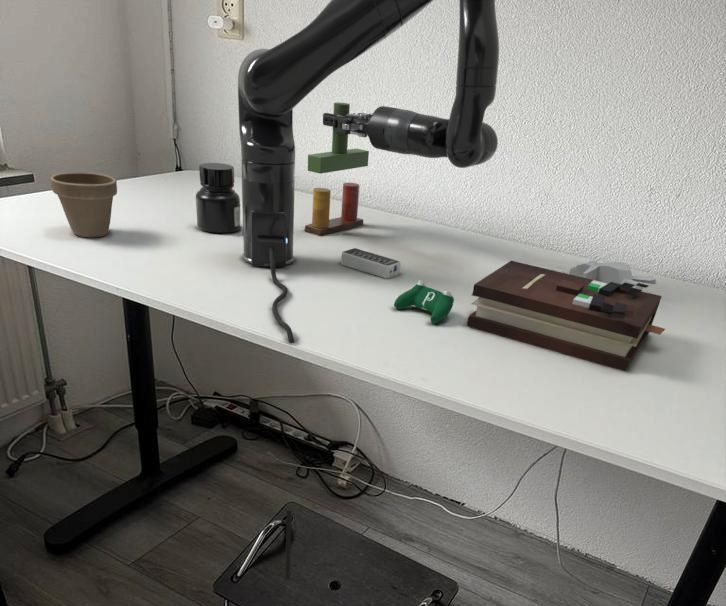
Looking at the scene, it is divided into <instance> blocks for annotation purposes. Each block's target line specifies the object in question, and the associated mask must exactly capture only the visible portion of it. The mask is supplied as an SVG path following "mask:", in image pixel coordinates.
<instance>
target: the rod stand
mask: <svg viewBox="0 0 726 606" xmlns="http://www.w3.org/2000/svg"><path fill="white" fill-rule="evenodd" d="M359 197H360V184H359V183H356V182H343V183H342V199H341V213H340V214H341V215H340V216H339V217H335V218H331V219H330V209H331V208H330V207H331V189H329V188H325V187H315V188H313V192H312V213H311V214H312V217H311V219H312V221H311V223H309V224H305V225H304V232H307V233H310V234H313V235H317V236H320V237H321V236H325V235H330V234H333V233H337V232H341V231H345V230H348V229H349V230H350V229H353V228H356V227H357V228H358V227H360V226H361V227H362V226H363V225H364V219H363V218H359V217H358V212H359V211H358V210H359Z"/></svg>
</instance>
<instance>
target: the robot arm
mask: <svg viewBox="0 0 726 606" xmlns="http://www.w3.org/2000/svg"><path fill="white" fill-rule="evenodd" d="M434 1H435V0H330V1H329V2H328V3H327V4H326V5H325V7H323V9H322V10H321V11H320V12H319V14H318V15H316V17H315V18H314V19H313V20H312V21H311V22H310V23H309V24H307V25H306V26H305V27H304V28H303V29H301V30H300V31H298V32H296V33H295V34H294V35H292V36H290V37H289V38H287V39H286V40H284V41H282V42H281V43H278V44H277V45H275V46H274V47H272V48H258V49H254V50H253V51H251V52H249V53H248V54H247V55H246V56H245V57H244V58H243V60H242V61H241V64H240V65H239V69H238V74H237V75H238V76H237V101H238V103H237V104H238V131H239V141H240V152H241V197H242V198H241V201H242V238H243V239H242V242H243V244H242V245H243V253H242V257H243V261H245V262H246V263H249V264H251V266H252V267H269V268H270V272H271V273H270V275H271V279H272V281H273V284H274V285H275V286H276V287H278V288H279V289H281V290H282V293H280V294H279V295H278V296H277V297H276V298H275V300H274V301H273V302H272V307H271V308H272V314H273V317H274V319H275V322H276V323H277V324H278V325H279V326H280V327H281V328H283V329H284V330H285V332H286V335H287V340H288V343H289V344H295V338H294V334H293V330H292V328H291V326H289V324H288V323H286V322H285V321H284V320H282V317H281V316H280V313H279V311H278V306H279V304H280V303H281V302H282V301H283V300H284V299H285V298H286V297H287V295H288V293H289V292H288V291H289V290H288V287H287V286H286V285H285V284H283V283H281V282H280V281H279V279H278V277H277V274H276V268H287V265H290V264H292V263H293V262H294V259H295V258H294V257H295V256H294V231H295V230H294V229H295V225H294V223H295V222H294V221H295V179H296V144H295V138H294V128H293V127H294V125H293V121H294V120H293V119H294V117H293V116H294V115H293V112H294V111H293V109H294V108H295V107H296V106H297V105H298V104H299V103H300V102H301V101H302V100H304V99H305V98H306V97H307V96H308V95H309V94H310V93H311V92H312V91H313V90H314V89H316V88H317V87H318V86H319V85H320V84H321V83H322V82H323V81H325V79H327V78H328V77H329V76H330V75H332V74H333V73H334V72H336V71H337V70H339V69H340V68H342V67H344V66H345V65H347V64H349V63H351V62H352V61H354V60H355V59H357V58H358V57H360V56H361V55H363V54H365V53H366V52H368V51H369V50H371V49H372V48H374V47H375V46H377V45H379V44H380V43H381V42H383V41H384V40H386V39H387V38H388V37H390V36H391V35H393V34H395V32H397V31H398V30H400V29H401V28H402V27H404V26H405V25H406V24H407V23H409V21H411V20H412V19H413V18H414V17H416V16H417V15H418V14H419V13H421V12H422V11H423V10H424V9H426V8H427V7H428V6H429V5H430V4H431V3H433V2H434ZM496 11H497V10H496V0H459V25H458V26H459V27H458V49H457V50H458V51H457V62H456V63H457V64H456V66H457V67H456V79H455V80H456V81H455V95H454V100H453V103H452V106H451V110H450V113H449V117H448V118H443V117H438V116H434V115H430V114H424V113H418V112H416V111H413V110H409V109H403V108H398V107H392V106H385V105H380V106H379V107H377V108H376V109H375V110H374V111H373V113H366V112H358V113H355V112H354V113H353V112H352V113H349V114H347V115H346V116H344V115H341V114H338V115H336V114H333V113H329V112H324V113H322V125H323V126H326V127H332V131H333V130H334V131H338V132H341V133H344V134H346V135H348V136H349V135H356V136H358V138H367V137H368V139H369V142H370V144H371V145H372V147H373V148H374V149H376V150H381V151H386V152H392V153H395V154H400V155H410V156H411V155H412V156H417V157H423V158H428V159H440V158H447V159H448V161H449V162H450V164H451V165H452V166H454V167H456V168H459V169H466V168H470V167H473V166H474V167H475V166H478V165H482V164H485V163H486V162H488V161H490V160H491V159H492V158H493V157H494V156H495V153H496V152H497V150H498V145H499V144H498V143H499V141H498V140H499V138H498V135H497V132H496V130H495V129H494V128H493V127H492V126H491V125H490V124H489V123H487V122H484V117H485V113H486V110H487V109H488V108H489V107H490V106H491V105H492V104H493V103H494V102H495V98H496V92H497V83H498V73H499V61H500V39H499V38H500V37H499V30H498V29H499V28H498V21H497V13H496ZM285 527H286V528H285V529H286V531H285V533H286V535H285V579H286V580H290V579H291V550H292V549H291V547H292V546H291V543H292V510H286V526H285Z"/></svg>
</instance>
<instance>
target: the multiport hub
mask: <svg viewBox="0 0 726 606" xmlns="http://www.w3.org/2000/svg"><path fill="white" fill-rule="evenodd" d="M340 265H342V266H344V267H345V266H346V267H348V268H351V269H355V270H358V271H361V272H364V273H367V274H370V275H373V276H377V277H380V278H382V279H390V278H393V277H396V276H398V275H400V272H401V271H400V270H401V261H400V260H397V259H394V258H391V257H386V256H383V255H380V254H378V253H373V252H371V251H366V250H363V249H360V248H356V247H354V248H351V249H346V250H344V251H341V260H340Z"/></svg>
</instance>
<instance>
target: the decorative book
mask: <svg viewBox="0 0 726 606" xmlns="http://www.w3.org/2000/svg"><path fill="white" fill-rule="evenodd" d="M641 283H642V282H640V283H638V284H636V285H637V286H640V287H643V288H645V289H646V288H648V287H650V286H649V284H646V283H643V284H641ZM633 286H635V285H633V284H630V283H626V282H625V283H623V284H618V283H614V282H610V283H604V282H600V281H596V280H592V279H587V278H583V277H579V276H575V275H570V273H565V272H562V271H559V270H553V269H549V268H545V267H541V266H536V265H532V264H529V263H525V262H520V261H517V260H516V261H515V260H509V261H508V262H507V263H504V264H503V265H502V266H501V267H499V268H497V269H496V270H494V271H492V272H491V273H490V274H488V275H486V276H485V277H483V278H482V279H480V280H479V281H477V282H475V283H474V284H473V288H472V294H471V296H472V297H477V299H475V300H474V301H473V302H472V303H471V305H473V306H476V310H475V311H473V312H472V313H470V314H469V315H468V316H467V321H466V327H468V328H472V329H476V330H479V331H483V332H487V333H490V334H493V335H496V336H499V337H504V338H506V339H507V338H508V339H511V340H514V341H518V342H521V343H524V344H528V345H533V346H536V347H540V348H542V349H547V350H549V351H553V352H555V353H556V352H557V353H560V354H564V355H567V356H571V357H574V358H577V359H581V360H585V361H587V362H588V361H589V362H593V363H596V364H599V365H602V366H606V367H610V368H614V369H616V370H619V371H624V372H627V371H628V369H629V368H630V366H631V365H632V363H633V361H634V359H635V357H636V356H637V354H638V353H639V352H640V350H641V348H642V346H643V345H644V343H645V341H646V340H647V338H648V337H649V334H650V333H652V334H654V335H655V334H656V335H662V334H663V332H665V330H666V328H664V327H661V326H657V325H653V323H654V320H655V317H656V315H657V311H658V309H659V306H660V303H661V299H662V297H663V295H659V294H654V293H651V292H646V291H643V289H642V290H640V289H636V288H632V287H633Z"/></svg>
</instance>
